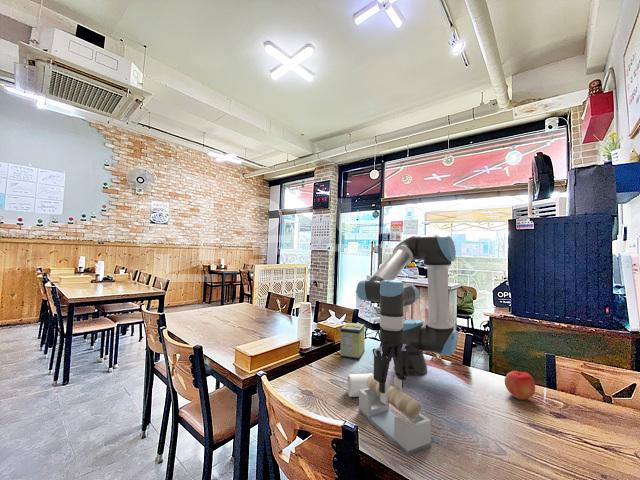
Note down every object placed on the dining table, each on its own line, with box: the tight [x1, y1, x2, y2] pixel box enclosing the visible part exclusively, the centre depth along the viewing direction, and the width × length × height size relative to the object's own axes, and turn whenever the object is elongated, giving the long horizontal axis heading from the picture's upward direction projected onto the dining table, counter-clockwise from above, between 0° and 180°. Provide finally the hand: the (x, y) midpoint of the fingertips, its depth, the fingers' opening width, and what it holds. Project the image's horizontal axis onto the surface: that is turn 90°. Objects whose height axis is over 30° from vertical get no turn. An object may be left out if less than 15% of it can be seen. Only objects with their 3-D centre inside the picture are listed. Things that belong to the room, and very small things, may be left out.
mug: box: [346, 372, 374, 398], centre depth 114 cm, size 12×10×8 cm
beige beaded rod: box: [367, 374, 421, 420], centre depth 91 cm, size 20×5×5 cm, turn 26°
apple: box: [504, 370, 536, 401], centre depth 111 cm, size 10×10×10 cm
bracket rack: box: [358, 388, 432, 457], centre depth 91 cm, size 9×24×8 cm, turn 26°
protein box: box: [340, 322, 366, 361], centre depth 156 cm, size 10×16×16 cm
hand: (391, 400), depth 91 cm, fingers closed on beige beaded rod, 5 cm apart
